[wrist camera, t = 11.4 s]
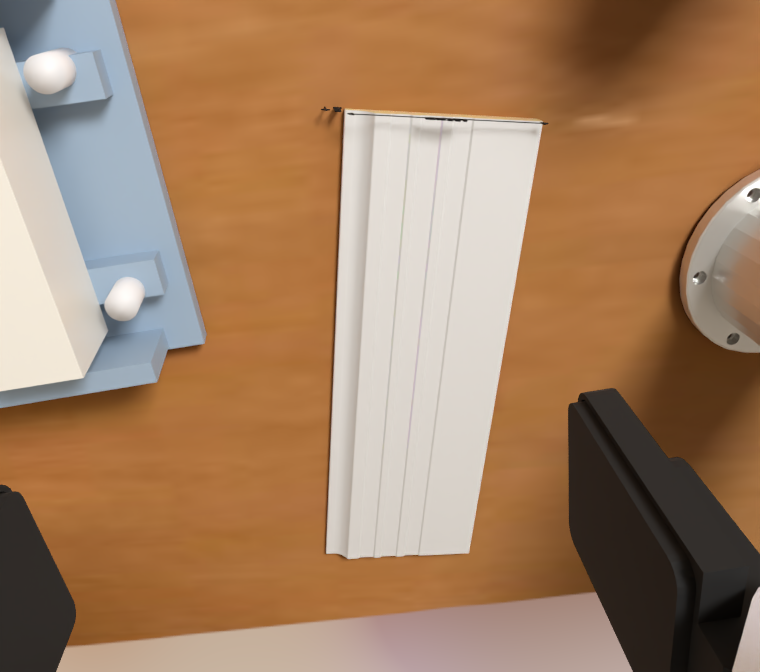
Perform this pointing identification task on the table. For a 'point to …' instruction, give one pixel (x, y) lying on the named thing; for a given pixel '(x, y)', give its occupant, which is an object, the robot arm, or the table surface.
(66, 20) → the rack
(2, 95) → the clay bar
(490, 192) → the grooved white panel
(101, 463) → the table surface
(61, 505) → the table surface
